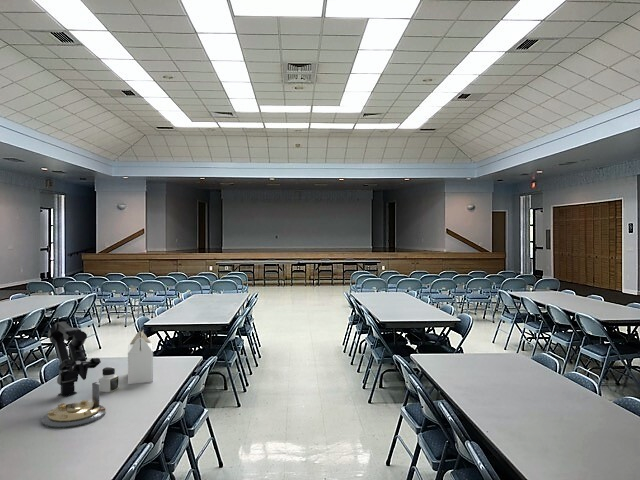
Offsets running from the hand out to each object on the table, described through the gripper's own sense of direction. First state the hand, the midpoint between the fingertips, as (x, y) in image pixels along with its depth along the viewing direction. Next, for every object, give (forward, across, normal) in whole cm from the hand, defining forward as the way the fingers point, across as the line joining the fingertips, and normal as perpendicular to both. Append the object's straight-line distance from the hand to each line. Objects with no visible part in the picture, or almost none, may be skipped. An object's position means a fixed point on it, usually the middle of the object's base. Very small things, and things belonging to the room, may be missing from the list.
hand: (84, 379), depth 237 cm
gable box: (-6, -46, -17) cm, 50 cm away
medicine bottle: (0, -23, -15) cm, 28 cm away
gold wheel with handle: (+16, +9, -1) cm, 18 cm away
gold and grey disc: (+17, +9, -2) cm, 19 cm away
